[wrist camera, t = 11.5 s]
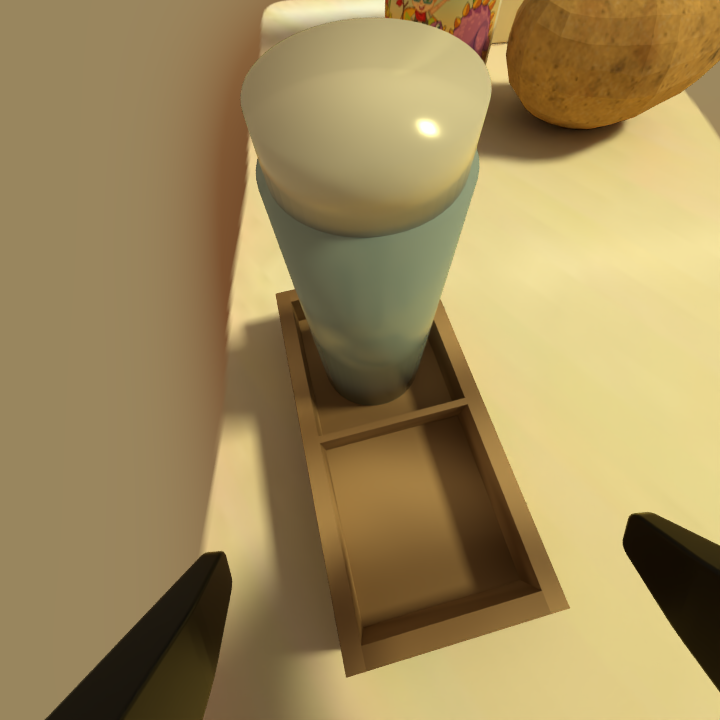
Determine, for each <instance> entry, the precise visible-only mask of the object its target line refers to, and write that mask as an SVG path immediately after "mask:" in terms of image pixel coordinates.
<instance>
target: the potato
mask: <svg viewBox="0 0 720 720" xmlns="http://www.w3.org/2000/svg"><path fill="white" fill-rule="evenodd" d="M506 60H507V68H508V76H509V83H510V85H511V86H512V88H513V89H514V91H515V92H516V94H517V95H518V97H519V99H520V100H521V102H522V104H523V105H524V107H525V109H526V110H528V111H529V112H530V113H531V114H533V115H534V116H535V117H537V118H539V119H542V120H544V121H546V122H548V123H550V124H554V125H558V126H562V127H565V128H572V129H592V128H596V127H601V126H605V125H610V124H613V123H616V122H620V121H623V120H627V119H630V118H633V117H635V116H637V115H639V114H641V113H643V112H645V111H646V110H648V109H650V108H652V107H654V106H656V105H657V104H659V103H661V102H663V101H665V100H667V99H669V98H671V97H673V96H675V95H677V94H679V93H681V92H682V91H684V90H685V89H686V88H688V87H689V86H690V85H692V84H693V83H694V82H696V81H697V80H699V78H701V77H702V76H703V75H704V74H705V73H706V72H707V71H709V70H710V69H711V68H712V67H713V66H714V65H715V64H716V63H717V62H718V61H719V60H720V0H524V1H523V2H522V4H521V5H520V7H519V8H518V10H517V13H516V16H515V19H514V22H513V25H512V28H511V31H510V34H509V38H508V45H507V52H506Z"/></svg>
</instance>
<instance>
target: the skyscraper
mask: <svg viewBox="0 0 720 720" xmlns="http://www.w3.org/2000/svg"><path fill="white" fill-rule="evenodd" d="M523 1H524V0H502V2H501V6H500V10H499V14H498V18H497V22H496V26H495V30H494V34H493V38H492V42H491V43H499V42H508V38H509V34H510V31H511V28H512V25H513V22H514V19H515V16H516V13H517V10H518V8H519V7H520V5H521V4H522V2H523Z"/></svg>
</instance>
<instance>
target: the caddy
mask: <svg viewBox="0 0 720 720" xmlns="http://www.w3.org/2000/svg"><path fill="white" fill-rule="evenodd" d="M276 299H277V305H278V310H279V315H280V321H281V326H282V332H283V337H284V343H285V348H286V353H287V359H288V364H289V370H290V375H291V381H292V386H293V392H294V397H295V402H296V408H297V413H298V419H299V424H300V430H301V435H302V440H303V446H304V451H305V457H306V462H307V468H308V473H309V478H310V484H311V489H312V495H313V500H314V506H315V511H316V516H317V522H318V527H319V533H320V538H321V544H322V549H323V554H324V560H325V565H326V571H327V576H328V582H329V587H330V592H331V598H332V603H333V609H334V614H335V620H336V625H337V630H338V636H339V641H340V647H341V652H342V658H343V663H344V668H345V674H346V678H347V677H350V676H353V675H356V674H360V673H363V672H366V671H369V670H372V669H376V668H379V667H382V666H385V665H389V664H392V663H395V662H398V661H401V660H405V659H408V658H411V657H414V656H417V655H421V654H424V653H427V652H430V651H434V650H437V649H440V648H443V647H446V646H450V645H453V644H456V643H459V642H463V641H466V640H469V639H472V638H475V637H479V636H482V635H485V634H488V633H491V632H495V631H498V630H501V629H504V628H508V627H511V626H514V625H517V624H520V623H524V622H527V621H530V620H533V619H537V618H540V617H543V616H546V615H549V614H553V613H556V612H559V611H562V610H565V609H569V608H570V607H569V605H568V602H567V600H566V598H565V595H564V593H563V590H562V588H561V586H560V583H559V581H558V578H557V576H556V574H555V571H554V569H553V567H552V564H551V562H550V559H549V557H548V555H547V552H546V550H545V547H544V545H543V543H542V540H541V538H540V536H539V533H538V531H537V528H536V526H535V524H534V521H533V519H532V516H531V514H530V512H529V509H528V507H527V505H526V502H525V500H524V497H523V495H522V493H521V490H520V488H519V485H518V483H517V481H516V478H515V476H514V474H513V471H512V469H511V466H510V464H509V462H508V459H507V457H506V455H505V452H504V450H503V447H502V445H501V443H500V440H499V438H498V435H497V433H496V431H495V428H494V426H493V424H492V421H491V419H490V416H489V414H488V412H487V409H486V407H485V404H484V402H483V400H482V397H481V395H480V393H479V390H478V388H477V385H476V383H475V381H474V378H473V376H472V373H471V371H470V369H469V366H468V364H467V362H466V359H465V357H464V354H463V352H462V350H461V347H460V345H459V342H458V340H457V338H456V335H455V333H454V331H453V328H452V326H451V323H450V321H449V319H448V316H447V314H446V312H445V309H444V307H443V304H442V302H441V300H439V304H438V307H437V310H436V313H435V316H434V320H433V323H432V326H431V329H430V332H429V336H428V339H427V342H426V345H425V348H424V352H423V355H422V358H421V361H420V364H419V368H418V371H417V374H416V377H415V379H414V381H413V383H412V385H411V386H410V387H409V389H408V390H407V391H406V392H405V393H404V394H403V395H401V396H400V397H399V398H397V399H395V400H393V401H391V402H389V403H386V404H382V405H374V406H368V405H361V404H357V403H354V402H351V401H349V400H347V399H346V398H344V397H343V396H341V395H340V394H339V393H338V392H337V391H336V390H335V389H334V388H333V386H332V385H331V383H330V382H329V379H328V377H327V375H326V372H325V369H324V366H323V364H322V361H321V358H320V356H319V353H318V350H317V347H316V345H315V342H314V339H313V336H312V334H311V331H310V328H309V326H308V323H307V320H306V317H305V315H304V312H303V309H302V306H301V304H300V301H299V298H298V295H297V293H296V290H295V289H294V290H290V291H285V292H281V293H277V294H276Z"/></svg>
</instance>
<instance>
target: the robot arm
mask: <svg viewBox="0 0 720 720" xmlns="http://www.w3.org/2000/svg"><path fill="white" fill-rule="evenodd" d="M623 547H624V550H625V552H626V554H627V556H628V557H629V559H630V560H631V562H632V564H633V565H634V567H635V568H636V570H637V572H638V573H639V575H640V576H641V578H642V580H643V581H644V583H645V584H646V586H647V588H648V589H649V591H650V592H651V594H652V596H653V597H654V599H655V600H656V602H657V603H658V605H659V607H660V608H661V610H662V611H663V613H664V615H665V616H666V618H667V619H668V621H669V622H670V624H671V625H672V627H673V628H674V630H675V631H676V633H677V634H678V636H679V637H680V638H681V640H682V641H683V643H684V644H685V645H686V647H687V648H688V650H689V651H690V652H691V654H692V655H693V656H694V658H695V659H696V660H697V662H698V663H699V664H700V666H701V667H702V669H703V670H704V671H705V673H706V674H707V675H708V677H709V678H710V679H711V681H712V682H713V684H714V685H715V686H716V688H717V689H718V690H719V692H720V545H718V544H715V543H713V542H711V541H709V540H707V539H705V538H703V537H701V536H699V535H697V534H695V533H693V532H691V531H689V530H687V529H685V528H683V527H681V526H679V525H677V524H675V523H673V522H671V521H669V520H667V519H665V518H662V517H660V516H658V515H656V514H654V513H650V512H643V513H634V514H631V515H630V516H629V518H628V521H627V525H626V529H625V533H624V537H623ZM231 590H232V577H231V573H230V569H229V565H228V562H227V558H226V555H225V553H224V552H223V551H217V552H207V553H204V554H203V555H202V556H200V557H199V559H198V560H197V561H196V562H195V563H194V564H193V565H192V566H191V567H190V568H189V569H188V570H187V571H186V572H185V573H184V574H183V575H182V576H181V577H180V579H179V580H178V581H177V582H176V583H175V584H174V585H173V586H172V587H171V588H170V589H169V590H168V591H167V592H166V593H165V594H164V595H163V596H162V597H161V598H160V600H159V601H158V602H157V603H156V604H155V605H154V606H153V607H152V608H151V609H150V610H149V611H148V612H147V613H146V614H145V615H144V616H143V617H142V618H141V619H140V620H139V622H138V623H137V624H136V625H135V626H134V627H133V628H132V629H131V630H130V631H129V632H128V633H127V634H126V635H125V636H124V637H123V638H122V639H121V640H120V641H119V642H118V644H117V645H116V646H115V647H114V648H113V649H112V650H111V651H110V652H109V653H108V654H107V655H106V656H105V657H104V658H103V659H102V660H101V661H100V662H99V663H98V665H97V666H96V667H95V668H94V669H93V670H92V671H91V672H90V673H89V674H88V675H87V676H86V677H85V678H84V679H83V680H82V681H81V682H80V684H79V685H78V686H77V687H76V688H75V689H74V690H73V691H72V692H71V693H70V694H69V695H68V696H67V697H66V698H65V699H64V700H63V701H62V702H61V704H59V706H58V707H57V708H56V709H55V710H54V711H53V712H52V713H51V714H50V715H49V716H48V717H47V718H46V719H45V720H203V716H204V713H205V709H206V706H207V702H208V699H209V695H210V692H211V688H212V684H213V680H214V677H215V672H216V667H217V663H218V658H219V652H220V647H221V642H222V637H223V632H224V627H225V621H226V616H227V611H228V606H229V601H230V595H231Z"/></svg>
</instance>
